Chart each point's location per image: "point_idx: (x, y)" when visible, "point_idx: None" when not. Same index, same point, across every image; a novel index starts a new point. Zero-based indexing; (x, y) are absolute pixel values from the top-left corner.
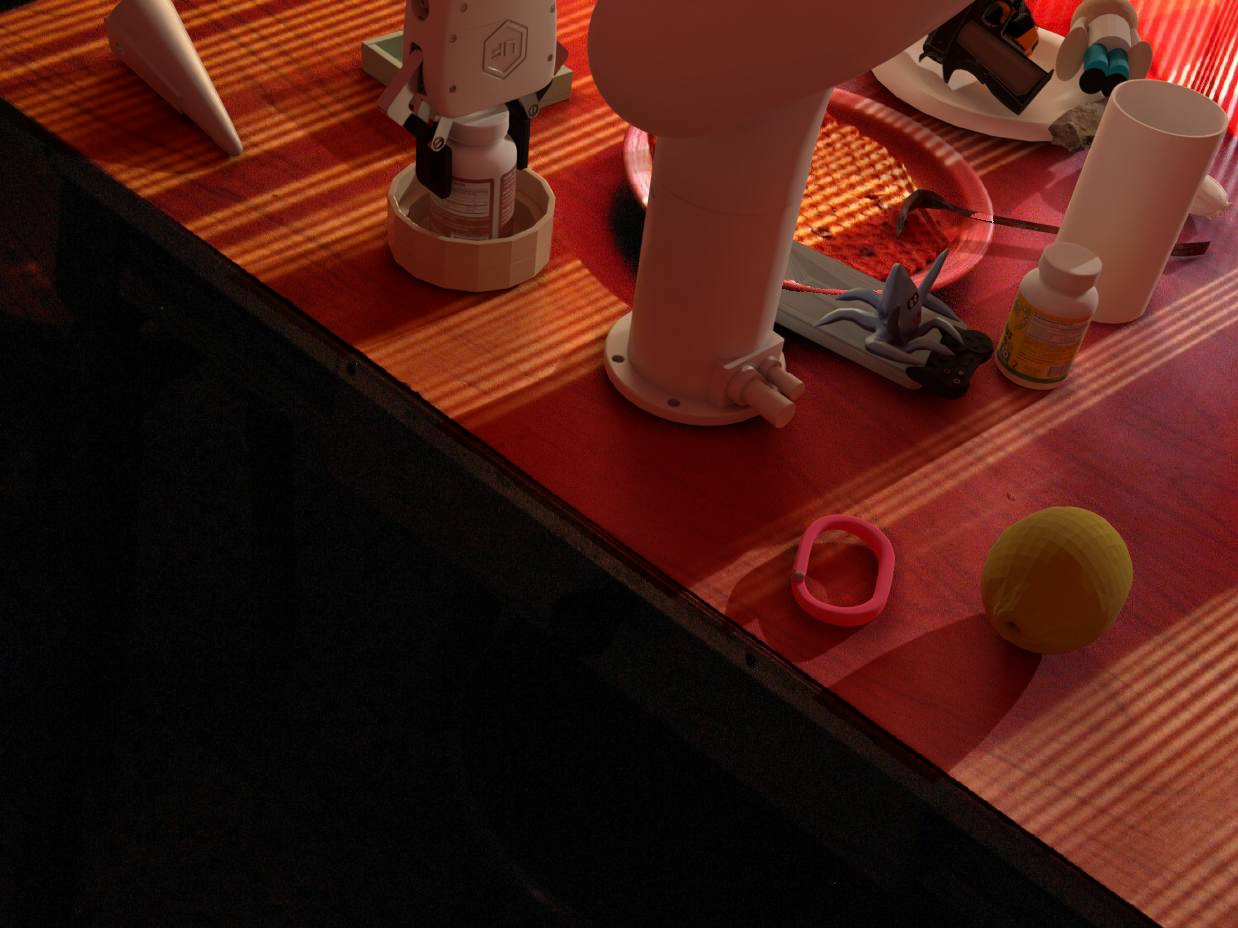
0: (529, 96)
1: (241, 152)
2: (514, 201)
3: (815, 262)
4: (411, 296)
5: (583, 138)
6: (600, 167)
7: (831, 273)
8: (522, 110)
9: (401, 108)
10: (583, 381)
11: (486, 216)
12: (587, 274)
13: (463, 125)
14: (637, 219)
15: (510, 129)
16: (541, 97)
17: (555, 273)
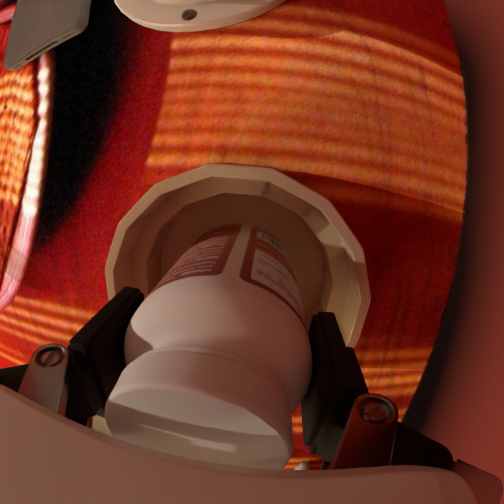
0: (36, 390)
1: (303, 463)
2: (150, 287)
3: (18, 30)
4: (369, 245)
5: (38, 322)
6: (41, 282)
7: (24, 13)
8: (71, 375)
9: (475, 496)
10: (323, 3)
11: (260, 250)
12: (159, 134)
13: (282, 434)
14: (53, 189)
15: (114, 361)
16: (21, 367)
17: (190, 160)
